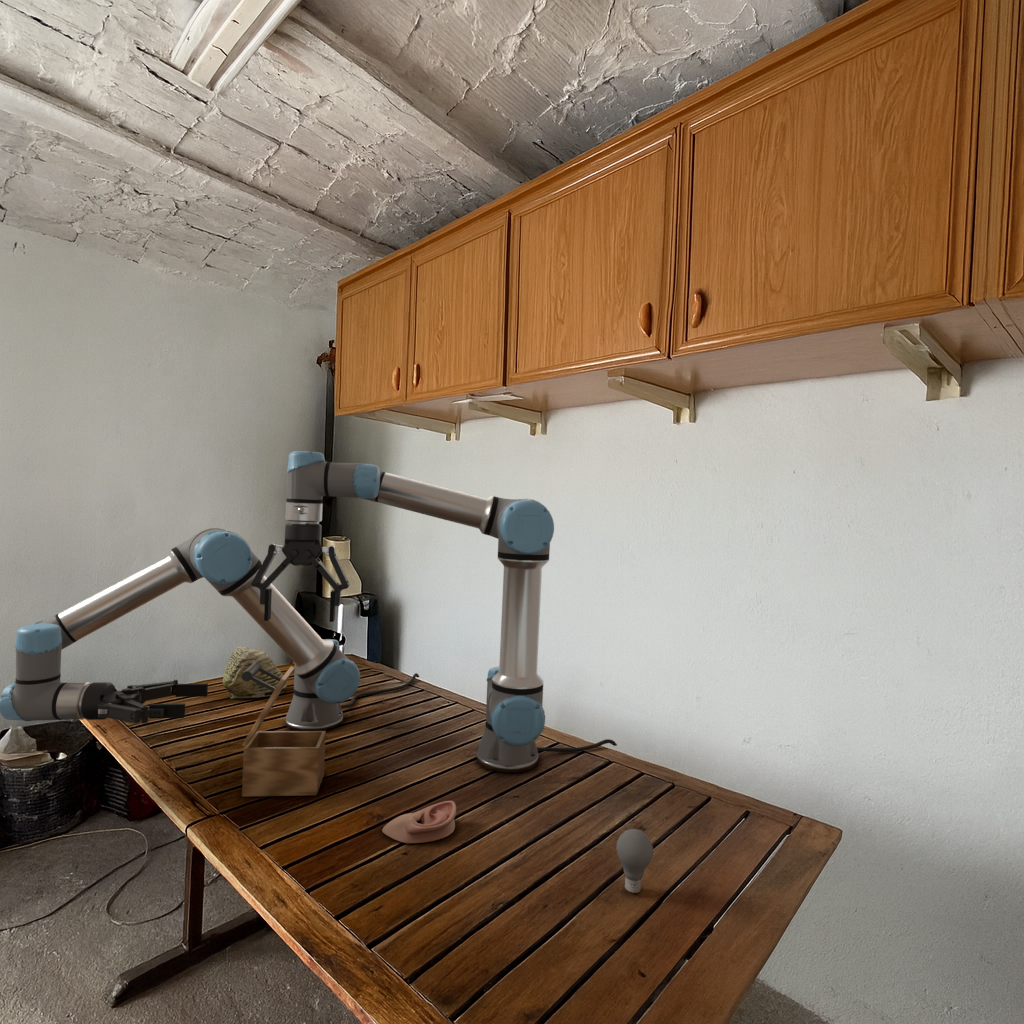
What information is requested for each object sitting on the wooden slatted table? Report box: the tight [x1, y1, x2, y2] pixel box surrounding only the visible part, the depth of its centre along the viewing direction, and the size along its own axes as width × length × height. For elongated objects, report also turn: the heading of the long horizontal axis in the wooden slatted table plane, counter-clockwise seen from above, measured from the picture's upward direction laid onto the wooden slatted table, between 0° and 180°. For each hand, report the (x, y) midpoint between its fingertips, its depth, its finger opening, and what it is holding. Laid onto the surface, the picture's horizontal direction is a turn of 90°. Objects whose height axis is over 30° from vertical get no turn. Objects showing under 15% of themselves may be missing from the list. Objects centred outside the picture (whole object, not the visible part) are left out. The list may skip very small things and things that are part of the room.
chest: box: [241, 730, 327, 798], centre depth 138 cm, size 15×10×10 cm, turn 98°
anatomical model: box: [381, 800, 457, 844], centre depth 122 cm, size 13×4×12 cm
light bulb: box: [615, 828, 654, 894], centre depth 106 cm, size 6×6×10 cm
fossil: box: [222, 646, 288, 699], centre depth 198 cm, size 9×18×15 cm, turn 132°
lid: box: [241, 662, 295, 748], centre depth 137 cm, size 16×10×8 cm
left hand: (196, 699), depth 135 cm, fingers open, 13 cm apart
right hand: (299, 620), depth 138 cm, fingers open, 13 cm apart
